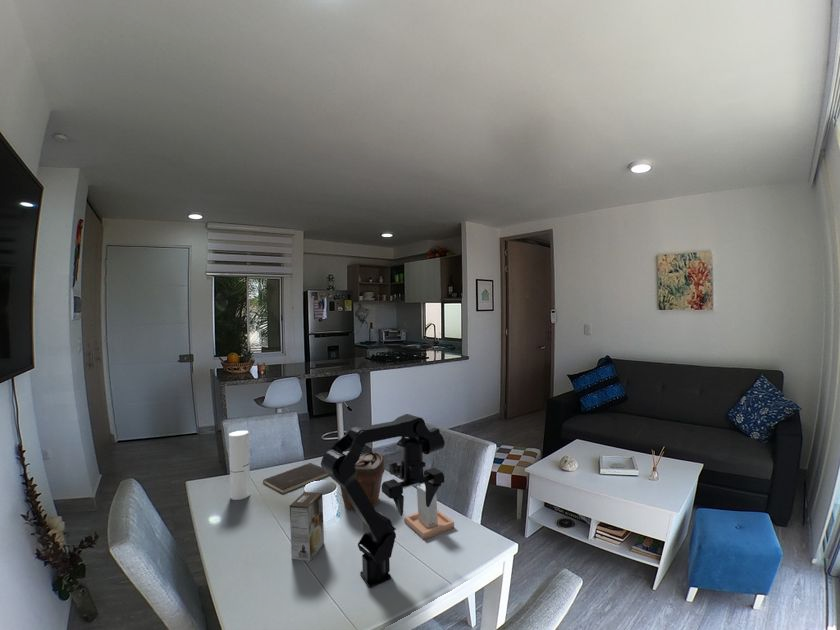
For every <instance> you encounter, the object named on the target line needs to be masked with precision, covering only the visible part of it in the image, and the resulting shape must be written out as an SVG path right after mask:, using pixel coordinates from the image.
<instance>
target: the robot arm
mask: <svg viewBox="0 0 840 630" xmlns="http://www.w3.org/2000/svg"><path fill="white" fill-rule="evenodd" d="M440 430H441V429H440V428H438V427H433V428H431V429H429V428H428V427H427V426H426V422H425V420H424V418H423V417H420V416H417V415H413V414H409V413H406V414H403V415H401V416H398V417H397V418H395V419H394V420H392V421H386V422H382V423H381V422H380V423H376V424H369V425H365V426H359V427H358V426H353V427H351V428H350V429H349V430H348V431H347V432H346V433H345V435H344V436H343V437H341V438H339V440H337V441H336V442H335V443H334V444H332V445H331V447H330V449H328V451H326V453H324V454H323V457H322V458H321V460H320V461H321V462H320V467H322V469H323V470H324V471H325V472H326V473H327V474H328V475H327V476H329V477H330V478H331V479H332V480H333V481H334V482H335V483H336V484H338V485H339V487H340V486H341V488H342V490H343V491H344V493H345V494H346V496H347V498H348V499H349V501H350V502H351V504H352V506H353V507H354V509H355V510H354V511H355V512H356V513H357V515H358V517H359V519H360V520H361V521H362V530H363V534H362V537H361V538H360V539H359V541H358V543H357V547H358V549H359V551H360V552H362V556H361V557H362V558H361V559H362V560H361V563H362V570H361V571H360V572H359V574H360V577H361V578H362V579H363V580H364V582H365V583H366V585H367V586H368V587H369V588H373V587H375V586H377V585H379V584H382V583H384V582H386V581H389V580H390V579H392V575H391V574H390V563H391V562H390V558H392V554H393V549H394V545H395V541H396V538H397V534H396V530H397V528H396V527H394V525H393V523H392V521H391V519H390V517H388V516H386V515H385V514H383V513H381V512H380V511H379V510H377V511H376V509H375V506H374V507H373V506H372V504H371V502H370V501H369V499H368V497H367V496H366V494H365V492H364V491H363V489H362V487H361V486H360V484H359V482H358V481H357V478H356V469H355V464H356V463H357V462H358V460H359V458H360V455H362V451H363V448H364V447H365V445H366V444H369V443H374V442H380V441H383V440H389V439H395V438H399V437H400V439H399V440H398V441H397V442H396V445H397V446H399V447H402V449H403V450H402V451H403V452H402V453H403V459H402V460H401V461H400V463H397V462H391V463H389V465H388V466H389V468H388V469H389V470H388V471H389V474H390V475H391V476H393V475H395V477H398V476H399V479H402V481H400V482H399V481H397V480H396V479H394V478H392V479H389V480H386V481H382V482H383V483H381V493H383V494H384V495H385V496H387V498H389V499H392V500H393V502H394V505H395V506H396V509H397V512H398V514H399V516H400V517H403V515H404V505H405V503H404V502H405V499H404V498H405V496H404V495H403V493H404V489H407V488H411V487H414V486H418V485H421V484H425V487H426V506H427V507H429V506H430V504H431V502H432V499H433V497H434V495H435V493H436V494H437V491H438V490H439V488H440V487H442V484H444V483H445V482H446V481H445V479H446V477H445V474H444V473H443V472H442V471H441V470H440V469H437V468H436V467H433V468H428V469H426V470H424V468H425V467H426V462H425V461H424V455H430V454H432V453H436V452H438V451H441V450H443V449H444V448H445V440H444V437H443V435H442V433H441V432H440ZM348 449H349V451H348V452H347V454H345V453H344V452H345V451H346V450H348ZM341 488H340V489H341Z"/></svg>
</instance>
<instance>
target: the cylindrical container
mask: <svg viewBox="0 0 840 630" xmlns="http://www.w3.org/2000/svg"><path fill="white" fill-rule="evenodd" d="M249 434H250V433H249V430H236V431H232V432H230V433H229V434H228V449H229V451H228V452H229V454H228V455H229V483H230V484H229V485H230V499H231V500H233V501H239V500H243V499H246V498H248V497H249V496H250V495H251V472H250V471H251V470H250V467H251V466H250V464H251V463H250V435H249Z"/></svg>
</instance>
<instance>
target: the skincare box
mask: <svg viewBox="0 0 840 630" xmlns="http://www.w3.org/2000/svg"><path fill="white" fill-rule="evenodd" d="M416 498H417V499H416V500H417V513H418V518H419V521H420V522H421V523H422V524H424V525H425V526H426V527H427V528H430V527H433V526H436V525H438V516H437V510H438V502H437V501H438V500H437V498H438V497H437V492H436V493H435V495H434V497H433V499H432V502H431V504H430V506H429V507H427V506H426V487H425V484H424V483H421V484H417V485H416Z"/></svg>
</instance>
